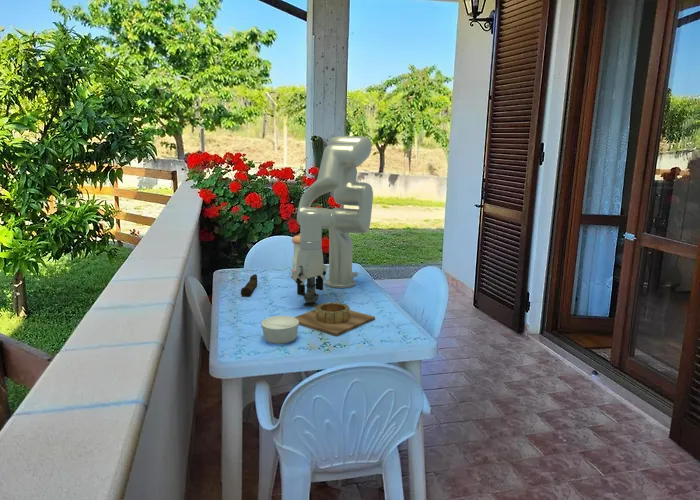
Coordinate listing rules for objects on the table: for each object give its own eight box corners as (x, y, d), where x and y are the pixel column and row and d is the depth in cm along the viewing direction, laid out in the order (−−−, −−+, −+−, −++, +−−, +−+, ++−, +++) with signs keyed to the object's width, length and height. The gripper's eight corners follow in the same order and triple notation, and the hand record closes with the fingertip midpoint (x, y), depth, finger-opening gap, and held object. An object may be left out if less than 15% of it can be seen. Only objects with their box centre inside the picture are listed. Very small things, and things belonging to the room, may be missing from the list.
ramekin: (266, 348, 148) (266, 330, 147) (257, 334, 158) (257, 318, 157) (304, 342, 152) (304, 325, 151) (292, 329, 162) (292, 313, 161)
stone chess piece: (302, 302, 190) (302, 270, 187) (318, 302, 190) (319, 270, 188) (302, 307, 184) (302, 274, 182) (319, 307, 185) (319, 274, 182)
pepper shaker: (299, 274, 229) (299, 231, 225) (312, 277, 225) (312, 233, 221) (288, 277, 223) (287, 234, 219) (301, 280, 219) (300, 236, 215)
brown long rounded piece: (251, 297, 195) (251, 285, 194) (240, 297, 195) (240, 285, 194) (262, 284, 214) (262, 273, 213) (253, 284, 214) (252, 273, 213)
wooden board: (329, 307, 185) (329, 304, 184) (374, 319, 173) (375, 316, 172) (289, 321, 169) (289, 318, 169) (336, 336, 157) (336, 333, 157)
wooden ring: (330, 310, 178) (330, 300, 177) (356, 317, 172) (356, 307, 171) (309, 318, 170) (309, 308, 169) (334, 326, 163) (335, 315, 162)
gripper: (319, 241, 192) (318, 286, 195) (285, 247, 178) (285, 295, 181) (334, 243, 187) (333, 289, 190) (301, 250, 174) (301, 299, 177)
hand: (310, 292), depth 186 cm, fingers open, 9 cm apart
